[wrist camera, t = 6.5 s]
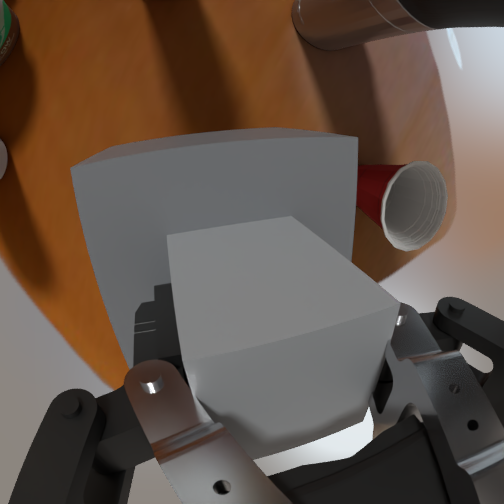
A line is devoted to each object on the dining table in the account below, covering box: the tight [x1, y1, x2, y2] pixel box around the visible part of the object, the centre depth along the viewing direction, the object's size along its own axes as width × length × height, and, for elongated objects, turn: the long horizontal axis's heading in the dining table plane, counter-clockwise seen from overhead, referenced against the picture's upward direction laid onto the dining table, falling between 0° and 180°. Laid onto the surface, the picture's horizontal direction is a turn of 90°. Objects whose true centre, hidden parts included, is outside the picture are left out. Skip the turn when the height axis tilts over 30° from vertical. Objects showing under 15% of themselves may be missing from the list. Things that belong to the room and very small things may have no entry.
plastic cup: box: [356, 161, 448, 251], centre depth 36 cm, size 11×11×12 cm
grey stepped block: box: [70, 127, 401, 460], centre depth 13 cm, size 10×10×15 cm
